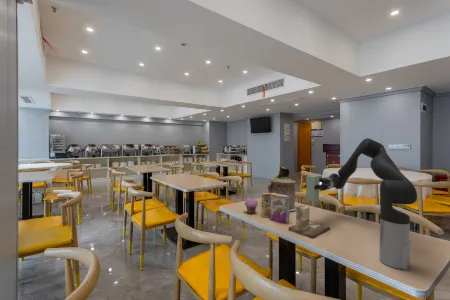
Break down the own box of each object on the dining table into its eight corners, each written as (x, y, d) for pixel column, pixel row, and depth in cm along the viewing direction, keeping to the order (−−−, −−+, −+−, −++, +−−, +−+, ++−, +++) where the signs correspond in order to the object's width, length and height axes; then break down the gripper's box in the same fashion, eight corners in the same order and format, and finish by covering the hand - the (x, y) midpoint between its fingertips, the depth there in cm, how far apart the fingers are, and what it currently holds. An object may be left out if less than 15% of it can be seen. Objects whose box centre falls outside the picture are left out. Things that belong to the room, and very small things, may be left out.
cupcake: (246, 215, 144) (247, 200, 144) (243, 211, 153) (243, 197, 153) (259, 214, 146) (259, 199, 146) (255, 210, 154) (255, 196, 154)
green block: (318, 200, 123) (319, 176, 123) (314, 201, 120) (314, 176, 120) (310, 198, 127) (310, 175, 127) (306, 200, 124) (306, 175, 124)
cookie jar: (306, 210, 158) (307, 166, 158) (280, 214, 148) (280, 167, 147) (283, 202, 181) (283, 163, 180) (258, 205, 170) (259, 164, 169)
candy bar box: (269, 219, 136) (269, 194, 135) (273, 218, 139) (273, 192, 139) (285, 224, 128) (286, 197, 128) (289, 222, 132) (290, 195, 131)
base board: (329, 229, 121) (330, 205, 120) (312, 238, 109) (313, 212, 108) (306, 222, 131) (307, 200, 131) (288, 230, 119) (289, 205, 119)
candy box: (263, 217, 140) (263, 194, 140) (261, 215, 144) (261, 192, 144) (276, 217, 141) (276, 193, 141) (273, 215, 145) (274, 192, 145)
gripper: (313, 176, 138) (298, 178, 127) (336, 179, 127) (322, 182, 116) (313, 187, 138) (298, 191, 127) (336, 191, 127) (322, 195, 116)
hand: (310, 186), depth 122 cm, fingers closed on green block, 5 cm apart
